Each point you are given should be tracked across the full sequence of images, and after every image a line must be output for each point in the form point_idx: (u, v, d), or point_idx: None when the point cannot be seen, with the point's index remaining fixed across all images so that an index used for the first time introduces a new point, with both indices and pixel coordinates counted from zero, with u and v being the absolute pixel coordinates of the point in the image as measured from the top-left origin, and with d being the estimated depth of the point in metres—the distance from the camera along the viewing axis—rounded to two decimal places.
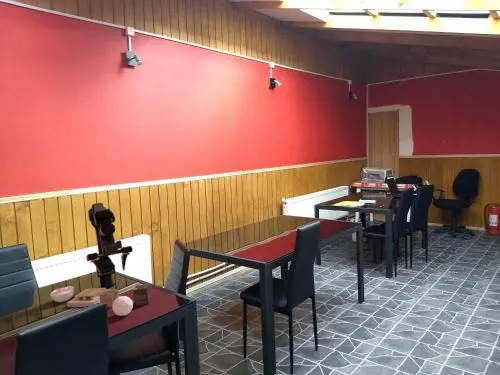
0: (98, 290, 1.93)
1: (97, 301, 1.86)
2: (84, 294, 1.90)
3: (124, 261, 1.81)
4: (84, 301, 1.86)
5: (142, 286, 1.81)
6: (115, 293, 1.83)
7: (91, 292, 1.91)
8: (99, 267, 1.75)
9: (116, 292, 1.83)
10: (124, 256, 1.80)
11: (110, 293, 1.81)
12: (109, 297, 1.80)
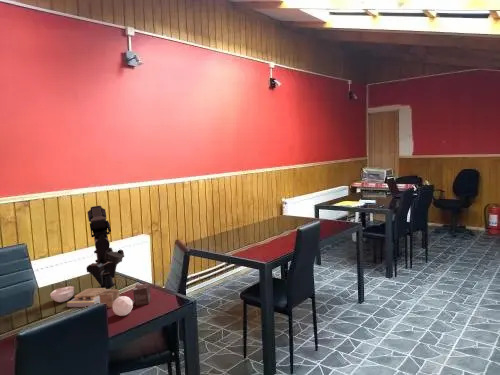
0: (98, 290, 1.93)
1: (97, 301, 1.86)
2: (84, 294, 1.90)
3: (115, 269, 1.87)
4: (84, 301, 1.86)
5: (142, 286, 1.81)
6: (115, 293, 1.83)
7: (91, 292, 1.91)
8: (101, 277, 1.77)
9: (116, 292, 1.83)
10: (116, 264, 1.87)
11: (110, 293, 1.81)
12: (109, 297, 1.80)
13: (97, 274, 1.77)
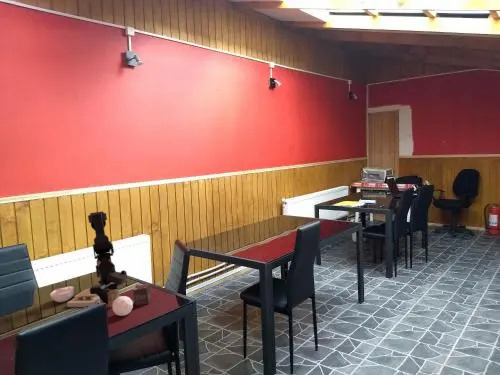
0: None
1: (97, 301, 1.86)
2: (84, 294, 1.90)
3: None
4: (84, 301, 1.86)
5: (142, 286, 1.81)
6: (115, 293, 1.83)
7: None
8: (106, 297, 1.79)
9: (116, 292, 1.83)
10: (117, 285, 1.86)
11: (110, 293, 1.81)
12: (109, 297, 1.80)
13: (102, 294, 1.79)
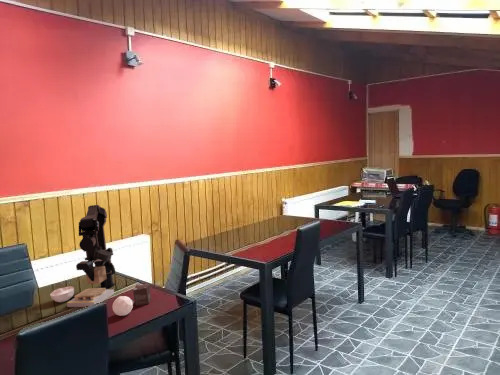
0: (98, 290, 1.93)
1: (97, 301, 1.86)
2: (84, 294, 1.90)
3: None
4: (84, 301, 1.86)
5: (142, 286, 1.81)
6: (101, 269, 1.87)
7: (91, 292, 1.91)
8: (93, 273, 1.83)
9: (102, 269, 1.88)
10: (104, 262, 1.91)
11: (96, 269, 1.85)
12: (95, 273, 1.84)
13: (88, 271, 1.83)
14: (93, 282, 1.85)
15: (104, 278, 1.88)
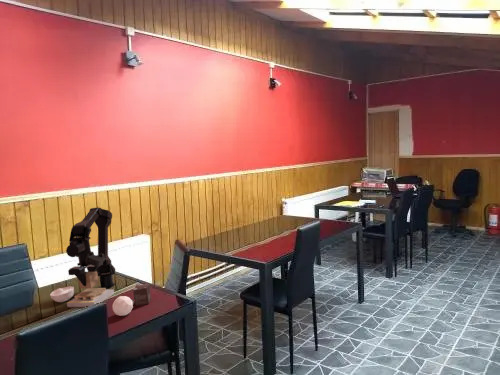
0: (98, 290, 1.93)
1: (97, 301, 1.86)
2: (84, 294, 1.90)
3: None
4: (84, 301, 1.86)
5: (142, 286, 1.81)
6: (93, 275, 1.91)
7: (91, 292, 1.91)
8: (85, 278, 1.88)
9: (94, 274, 1.92)
10: (96, 268, 1.95)
11: (88, 274, 1.89)
12: (87, 278, 1.88)
13: (81, 276, 1.88)
14: (85, 287, 1.89)
15: (96, 283, 1.93)
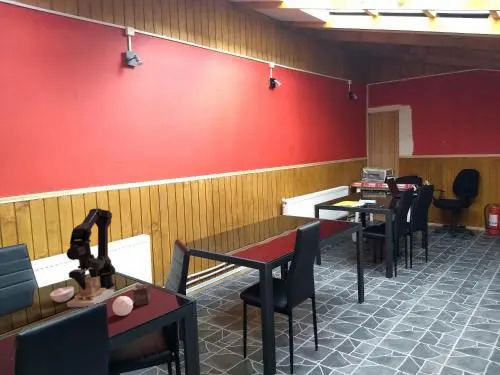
0: (98, 290, 1.93)
1: (97, 301, 1.86)
2: (84, 294, 1.90)
3: (96, 274, 1.96)
4: (84, 301, 1.86)
5: (142, 286, 1.81)
6: (94, 280, 1.91)
7: None
8: (84, 282, 1.87)
9: (95, 280, 1.92)
10: (98, 270, 1.96)
11: (89, 280, 1.90)
12: (88, 284, 1.89)
13: (80, 279, 1.87)
14: (86, 293, 1.90)
15: (97, 289, 1.93)
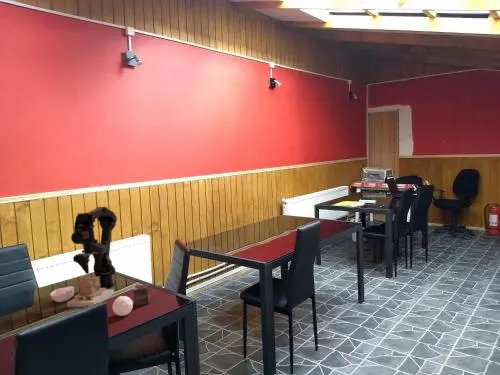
0: (98, 290, 1.93)
1: (97, 301, 1.86)
2: (84, 294, 1.90)
3: (100, 259, 2.02)
4: (84, 301, 1.86)
5: (142, 286, 1.81)
6: (94, 280, 1.91)
7: None
8: (87, 266, 1.92)
9: (95, 280, 1.92)
10: (102, 254, 2.02)
11: (89, 280, 1.90)
12: (88, 284, 1.89)
13: (83, 263, 1.91)
14: (86, 293, 1.90)
15: (97, 289, 1.93)
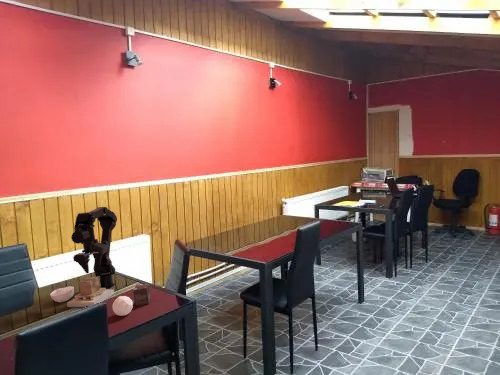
0: (98, 290, 1.93)
1: (97, 301, 1.86)
2: (84, 294, 1.90)
3: (100, 259, 2.02)
4: (84, 301, 1.86)
5: (142, 286, 1.81)
6: (94, 280, 1.91)
7: None
8: (87, 266, 1.92)
9: (95, 280, 1.92)
10: (102, 254, 2.02)
11: (89, 280, 1.90)
12: (88, 284, 1.89)
13: (83, 263, 1.92)
14: (86, 293, 1.90)
15: (97, 289, 1.93)
